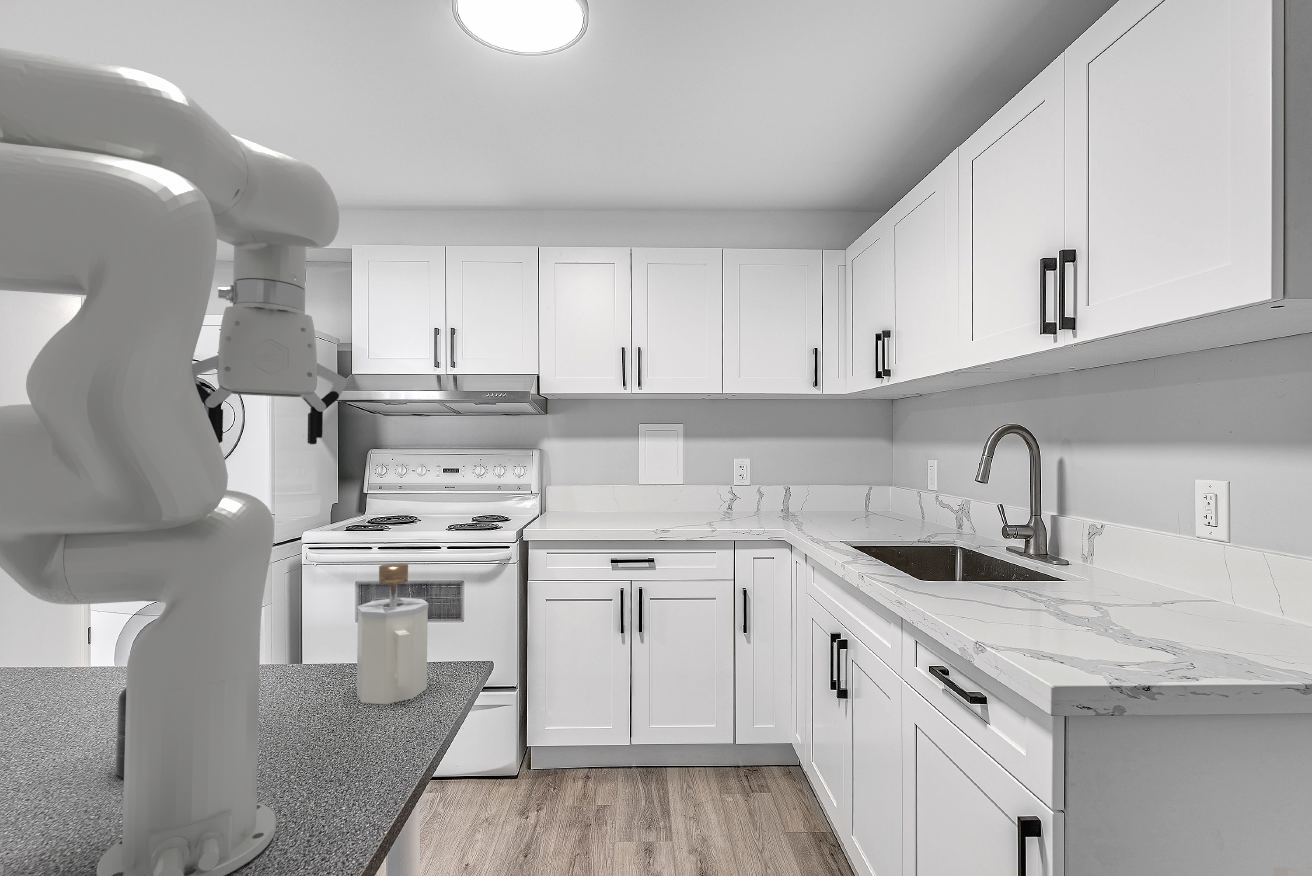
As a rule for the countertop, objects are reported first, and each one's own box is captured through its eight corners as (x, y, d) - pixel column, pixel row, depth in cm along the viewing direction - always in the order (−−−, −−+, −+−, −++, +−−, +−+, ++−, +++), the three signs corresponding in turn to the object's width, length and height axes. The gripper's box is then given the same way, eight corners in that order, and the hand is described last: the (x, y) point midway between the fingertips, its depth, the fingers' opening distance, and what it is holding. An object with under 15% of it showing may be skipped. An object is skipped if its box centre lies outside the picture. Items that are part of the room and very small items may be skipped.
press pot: (437, 700, 91) (438, 609, 92) (367, 714, 86) (368, 618, 86) (416, 677, 101) (417, 595, 101) (352, 689, 95) (354, 603, 96)
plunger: (409, 685, 94) (411, 566, 94) (380, 690, 92) (382, 568, 92) (403, 677, 97) (404, 562, 98) (375, 682, 95) (376, 564, 95)
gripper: (179, 284, 70) (175, 441, 69) (353, 306, 79) (350, 443, 79) (182, 299, 76) (179, 443, 75) (343, 317, 85) (341, 445, 85)
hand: (267, 443), depth 77 cm, fingers open, 9 cm apart
